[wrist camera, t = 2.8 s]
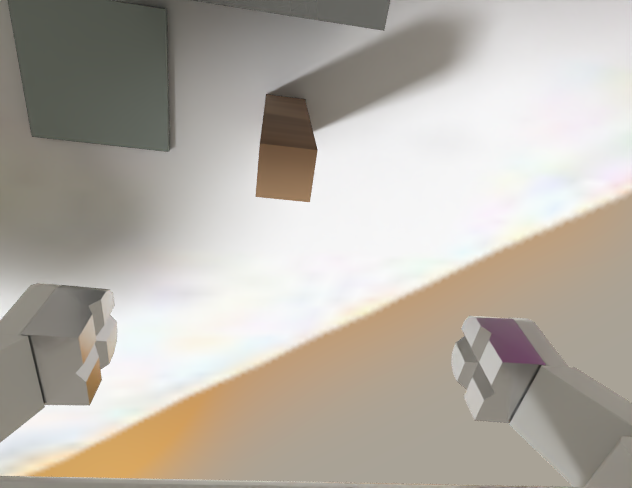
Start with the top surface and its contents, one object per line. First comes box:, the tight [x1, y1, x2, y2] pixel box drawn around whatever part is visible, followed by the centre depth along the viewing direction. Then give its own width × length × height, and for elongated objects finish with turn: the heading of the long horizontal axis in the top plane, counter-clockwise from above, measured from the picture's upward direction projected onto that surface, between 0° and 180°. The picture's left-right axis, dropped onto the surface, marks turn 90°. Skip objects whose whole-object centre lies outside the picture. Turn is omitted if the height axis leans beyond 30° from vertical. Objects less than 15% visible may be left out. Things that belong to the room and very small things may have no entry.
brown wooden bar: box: [256, 94, 317, 202], centre depth 23 cm, size 2×2×10 cm
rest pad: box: [8, 0, 170, 152], centre depth 25 cm, size 8×8×1 cm
